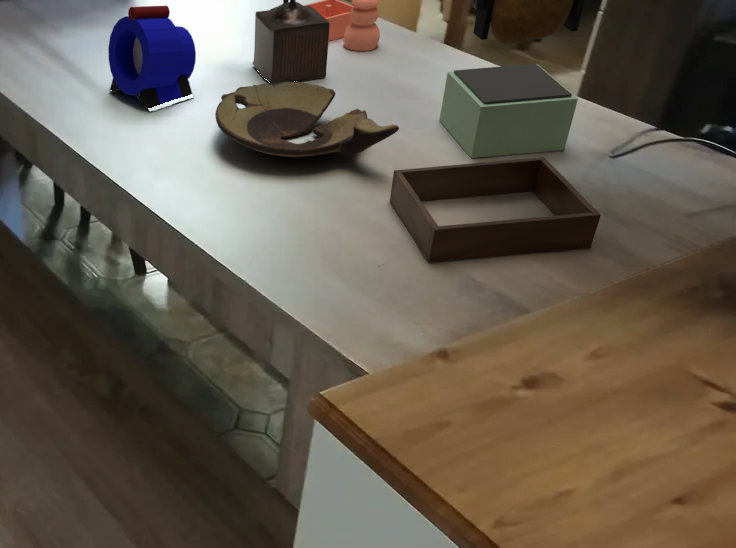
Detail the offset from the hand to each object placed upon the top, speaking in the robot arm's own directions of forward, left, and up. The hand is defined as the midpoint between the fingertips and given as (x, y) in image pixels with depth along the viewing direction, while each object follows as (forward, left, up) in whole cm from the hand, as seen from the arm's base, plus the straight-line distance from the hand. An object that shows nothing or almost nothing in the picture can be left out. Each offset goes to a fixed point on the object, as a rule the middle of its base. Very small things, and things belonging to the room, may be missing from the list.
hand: (524, 32), depth 117 cm
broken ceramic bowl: (+15, +25, -20) cm, 35 cm away
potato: (0, +1, -1) cm, 1 cm away
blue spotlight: (+42, +44, -20) cm, 64 cm away
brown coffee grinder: (+47, +22, -20) cm, 56 cm away
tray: (-12, +6, -20) cm, 24 cm away
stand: (+14, -6, -20) cm, 25 cm away
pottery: (+62, +6, -20) cm, 66 cm away
